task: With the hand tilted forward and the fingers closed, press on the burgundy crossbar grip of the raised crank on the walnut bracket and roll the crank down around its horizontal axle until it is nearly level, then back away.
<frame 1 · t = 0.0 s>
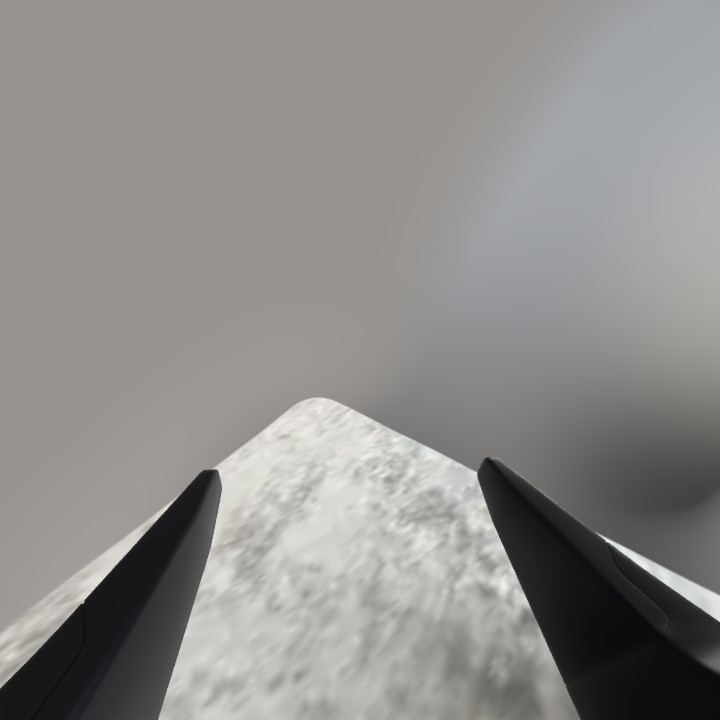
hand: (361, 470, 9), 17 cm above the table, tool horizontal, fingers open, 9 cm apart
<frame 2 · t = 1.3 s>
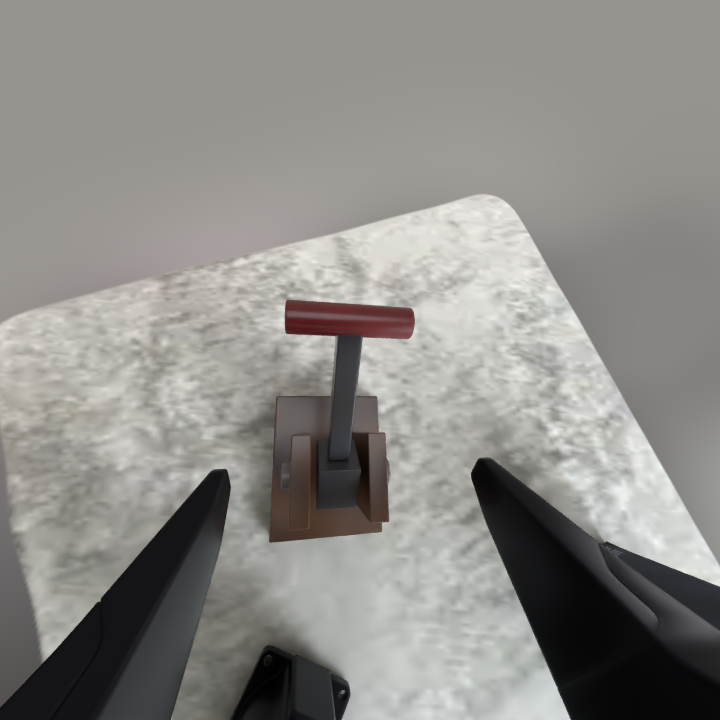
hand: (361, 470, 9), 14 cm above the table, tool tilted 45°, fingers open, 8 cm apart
small box: (603, 618, 24), on the table
crank: (341, 412, 14), point 9 cm above the table, hinge at 38.0°
bracket: (327, 461, 22), on the table
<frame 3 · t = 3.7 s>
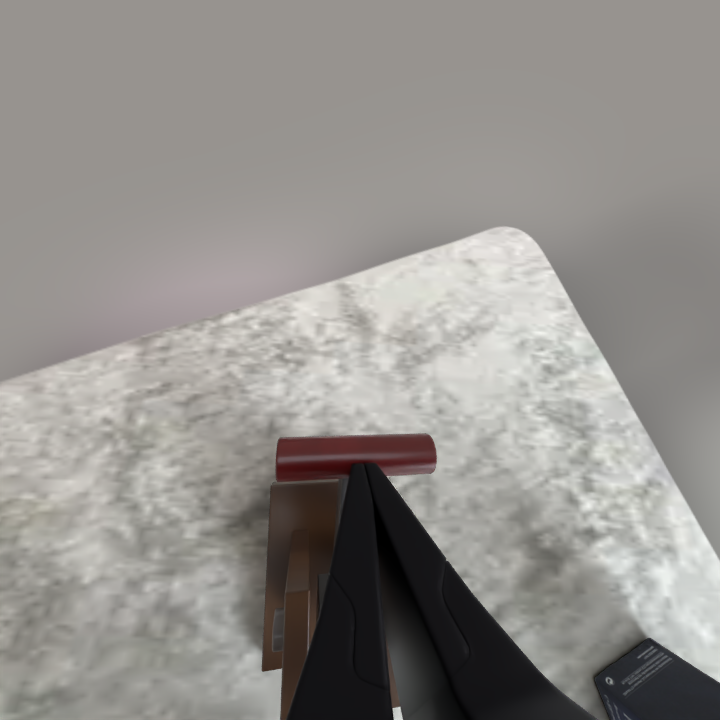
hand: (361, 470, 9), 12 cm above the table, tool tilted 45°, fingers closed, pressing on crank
crank: (347, 553, 12), point 9 cm above the table, hinge at 32.4°, touching gripper
bracket: (329, 557, 19), on the table
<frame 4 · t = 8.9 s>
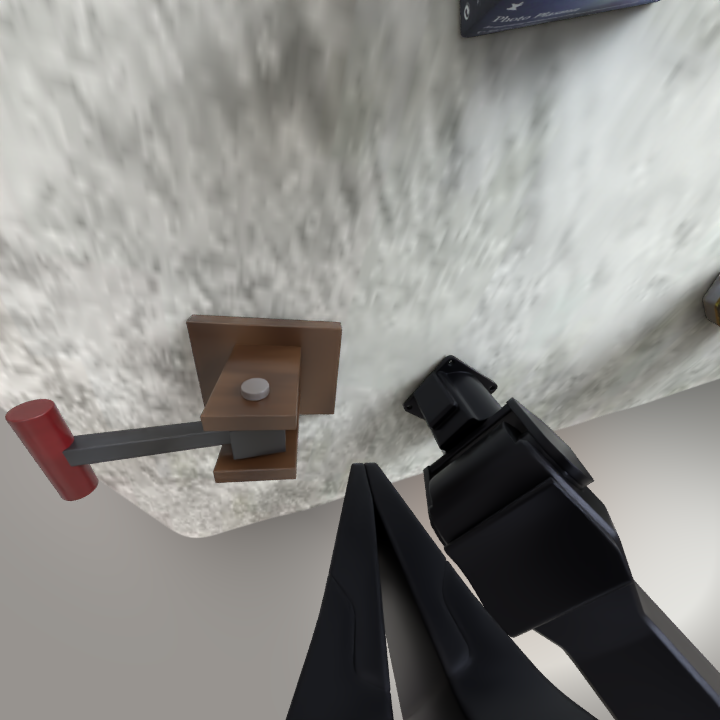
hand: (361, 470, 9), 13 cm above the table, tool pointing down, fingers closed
crank: (175, 437, 15), point 7 cm above the table, hinge at 9.7°
bracket: (272, 366, 22), on the table
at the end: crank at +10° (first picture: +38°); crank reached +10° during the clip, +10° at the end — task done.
